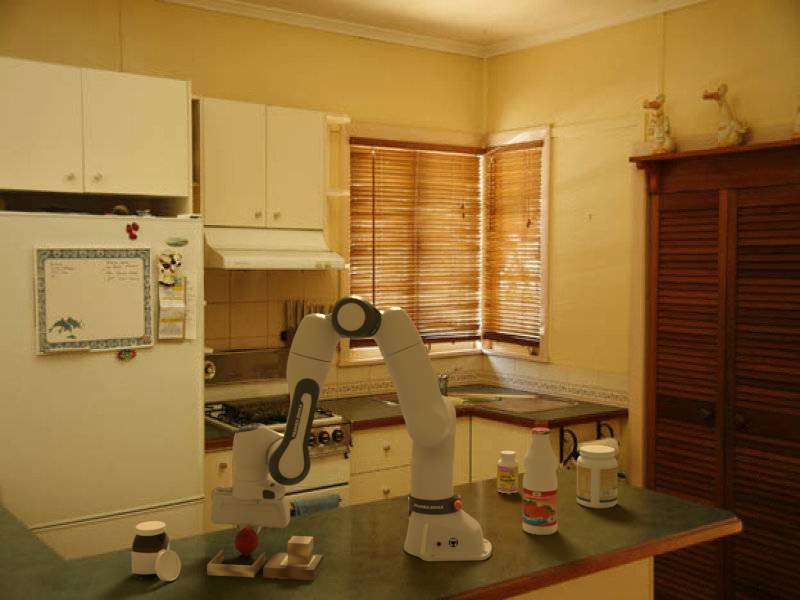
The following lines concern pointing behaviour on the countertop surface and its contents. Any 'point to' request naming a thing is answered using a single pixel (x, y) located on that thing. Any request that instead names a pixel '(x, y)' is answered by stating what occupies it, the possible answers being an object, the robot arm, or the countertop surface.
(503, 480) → the supplement bottle
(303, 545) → the oak block
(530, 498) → the fruit juice
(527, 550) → the countertop surface
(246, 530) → the onion
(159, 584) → the countertop surface
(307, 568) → the wooden tray
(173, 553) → the spread jar
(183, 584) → the countertop surface
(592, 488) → the supplement tub
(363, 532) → the countertop surface
